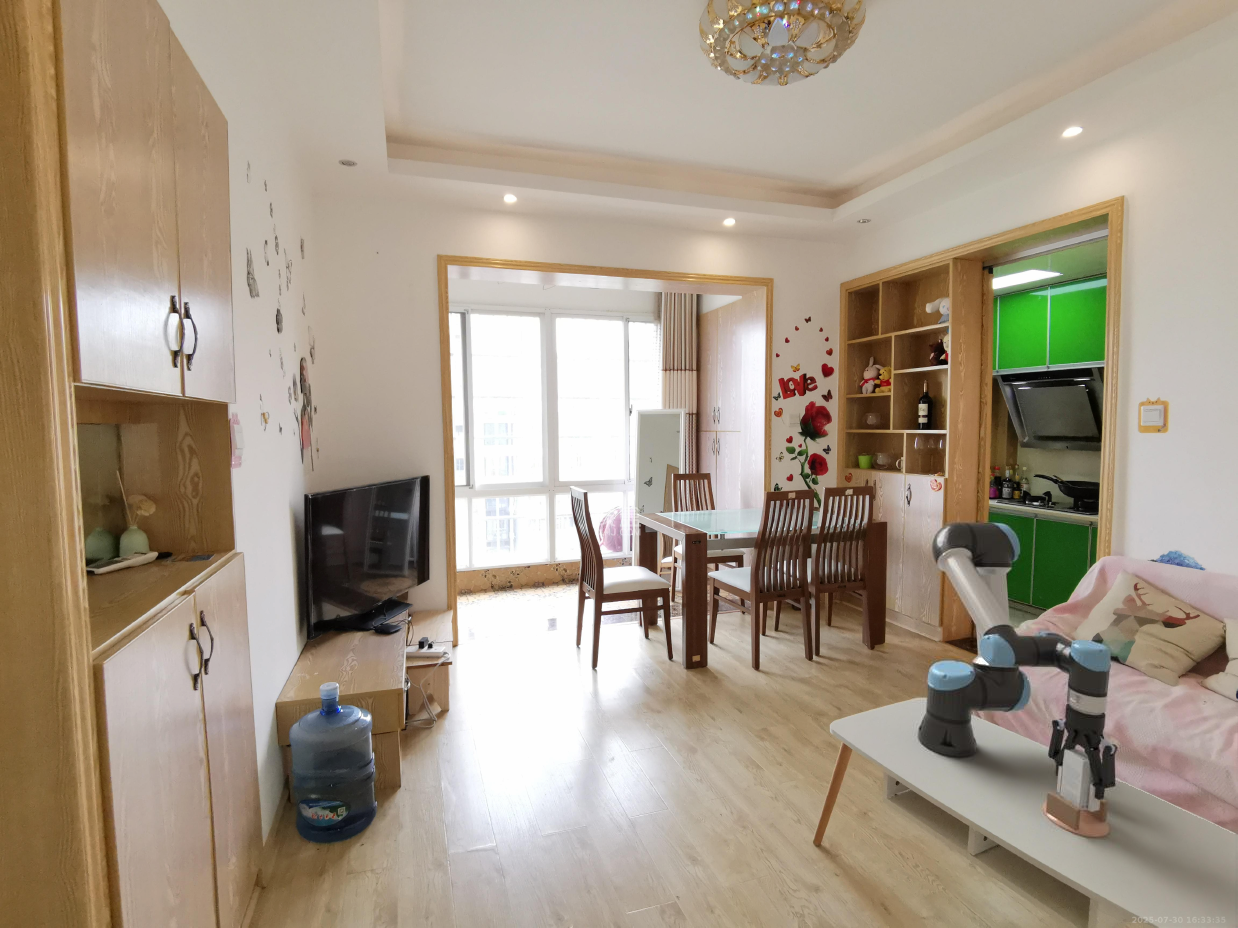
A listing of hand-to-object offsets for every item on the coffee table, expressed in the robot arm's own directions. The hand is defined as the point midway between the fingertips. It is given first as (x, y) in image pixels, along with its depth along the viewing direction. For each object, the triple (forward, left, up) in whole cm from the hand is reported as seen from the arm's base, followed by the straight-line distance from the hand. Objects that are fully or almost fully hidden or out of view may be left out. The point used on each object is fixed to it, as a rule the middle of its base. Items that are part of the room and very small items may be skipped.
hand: (1077, 800), depth 151 cm
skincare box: (0, 0, -1) cm, 1 cm away
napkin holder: (0, 0, -5) cm, 5 cm away
